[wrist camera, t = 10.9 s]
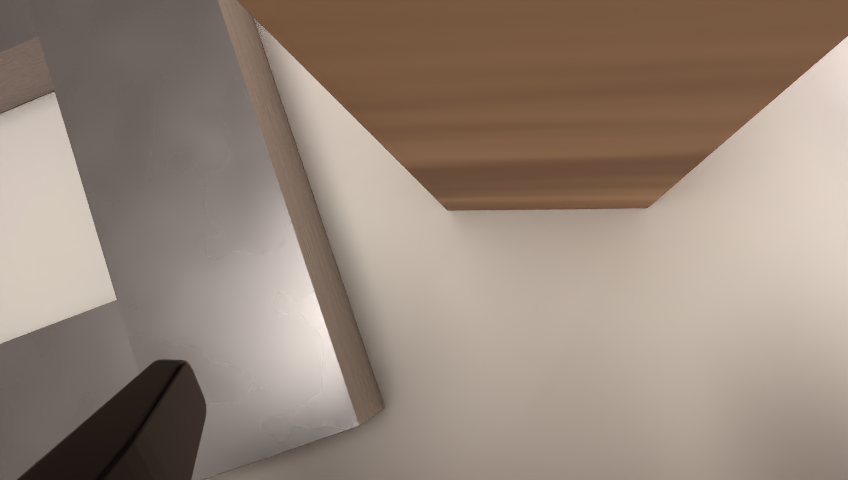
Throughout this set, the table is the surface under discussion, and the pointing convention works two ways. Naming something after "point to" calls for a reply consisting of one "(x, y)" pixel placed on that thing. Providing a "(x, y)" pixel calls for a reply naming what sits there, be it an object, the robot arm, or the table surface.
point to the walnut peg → (553, 86)
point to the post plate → (182, 234)
